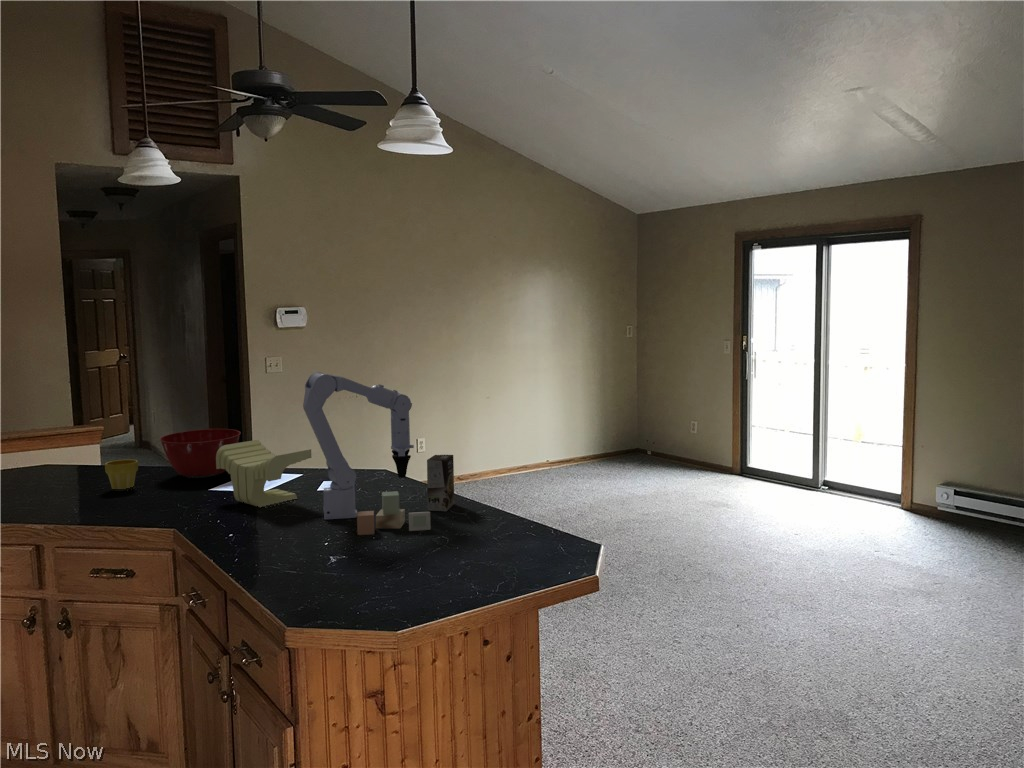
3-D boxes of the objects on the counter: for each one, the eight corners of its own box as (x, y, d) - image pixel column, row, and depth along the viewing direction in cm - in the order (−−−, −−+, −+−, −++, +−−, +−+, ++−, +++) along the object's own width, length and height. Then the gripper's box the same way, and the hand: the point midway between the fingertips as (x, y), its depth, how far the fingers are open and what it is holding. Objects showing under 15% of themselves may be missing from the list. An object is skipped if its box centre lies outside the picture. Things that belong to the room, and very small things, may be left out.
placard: (409, 531, 224) (408, 513, 223) (409, 529, 225) (408, 512, 224) (430, 529, 224) (430, 512, 224) (430, 528, 226) (429, 511, 225)
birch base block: (376, 529, 227) (375, 515, 226) (381, 522, 234) (381, 509, 233) (400, 529, 226) (399, 515, 226) (405, 522, 233) (404, 509, 233)
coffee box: (447, 511, 243) (446, 460, 242) (427, 510, 245) (425, 459, 243) (455, 504, 252) (454, 454, 251) (435, 503, 254) (434, 453, 252)
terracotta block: (357, 535, 221) (357, 516, 220) (358, 530, 225) (357, 511, 224) (374, 534, 221) (373, 515, 221) (374, 529, 226) (373, 510, 225)
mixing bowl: (194, 487, 281) (192, 444, 279) (145, 478, 296) (143, 437, 294) (258, 471, 305) (256, 432, 303) (210, 464, 320) (208, 426, 318)
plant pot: (129, 484, 286) (128, 457, 285) (145, 488, 280) (143, 460, 279) (101, 490, 278) (99, 462, 276) (116, 494, 272) (114, 466, 270)
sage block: (383, 514, 227) (382, 496, 226) (382, 510, 232) (381, 492, 231) (399, 513, 228) (399, 495, 227) (398, 509, 233) (397, 491, 232)
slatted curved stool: (218, 499, 262) (215, 446, 260) (260, 490, 275) (258, 439, 273) (270, 514, 243) (267, 457, 241) (313, 503, 255) (311, 449, 254)
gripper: (414, 435, 240) (415, 479, 242) (412, 427, 255) (413, 469, 256) (390, 436, 239) (392, 480, 241) (390, 428, 254) (391, 470, 255)
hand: (401, 474), depth 248 cm, fingers open, 7 cm apart
